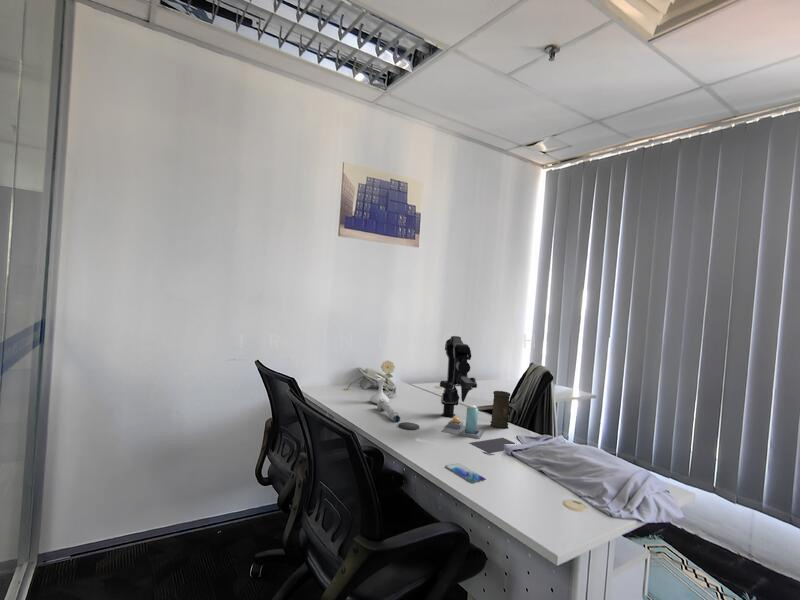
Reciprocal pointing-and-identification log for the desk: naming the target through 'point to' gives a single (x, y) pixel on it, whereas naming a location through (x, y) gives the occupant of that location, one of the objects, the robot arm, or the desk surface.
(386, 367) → the flower in vase
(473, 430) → the cartridge
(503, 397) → the container
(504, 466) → the desk surface
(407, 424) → the pad
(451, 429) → the housing
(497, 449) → the notebook
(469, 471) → the smartphone
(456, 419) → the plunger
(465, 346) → the robot arm
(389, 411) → the white tube
